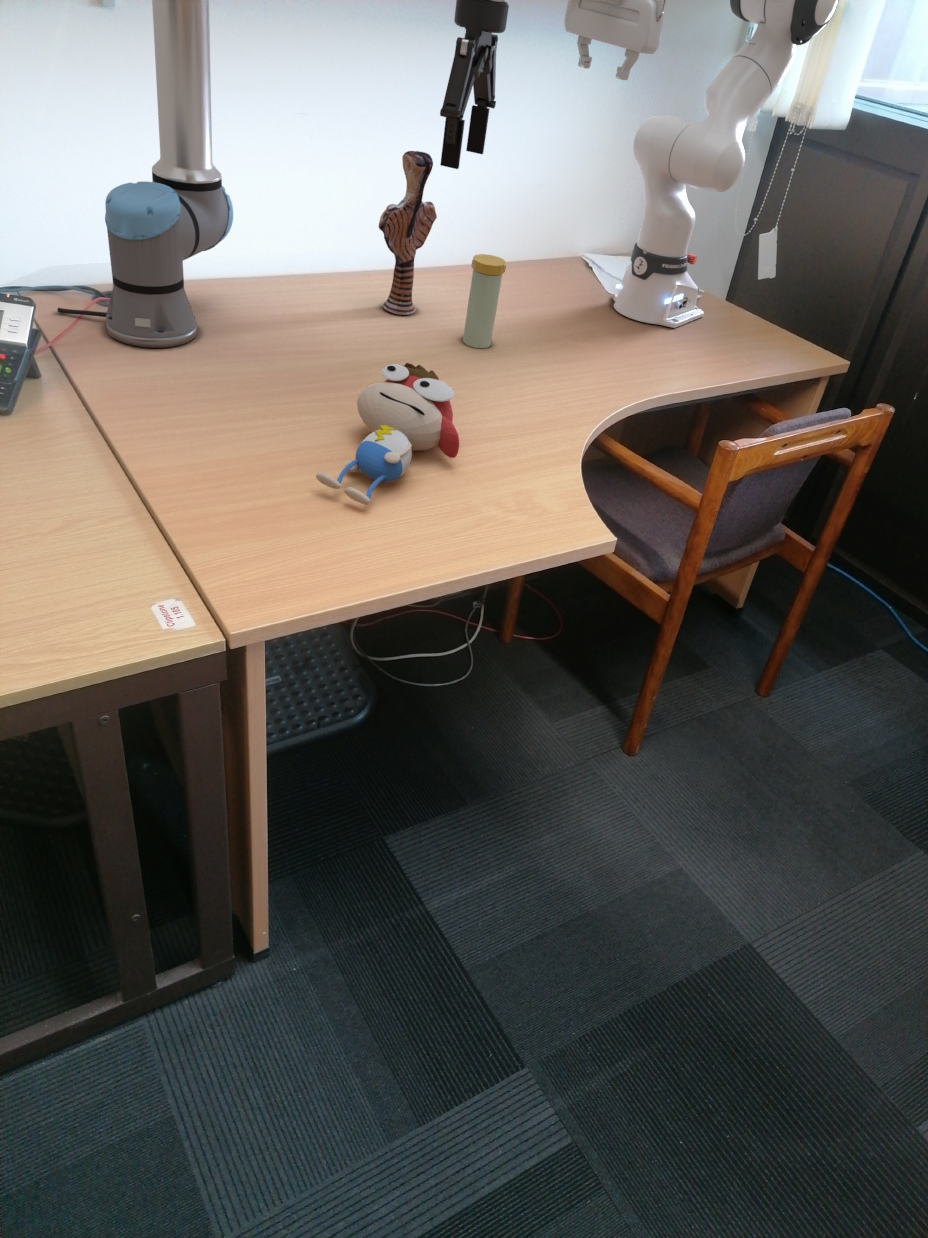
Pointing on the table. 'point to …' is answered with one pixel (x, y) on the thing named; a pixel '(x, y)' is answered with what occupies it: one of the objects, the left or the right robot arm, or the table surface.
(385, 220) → the figurine
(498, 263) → the lid
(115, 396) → the table surface
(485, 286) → the jar
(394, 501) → the table surface
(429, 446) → the toy
